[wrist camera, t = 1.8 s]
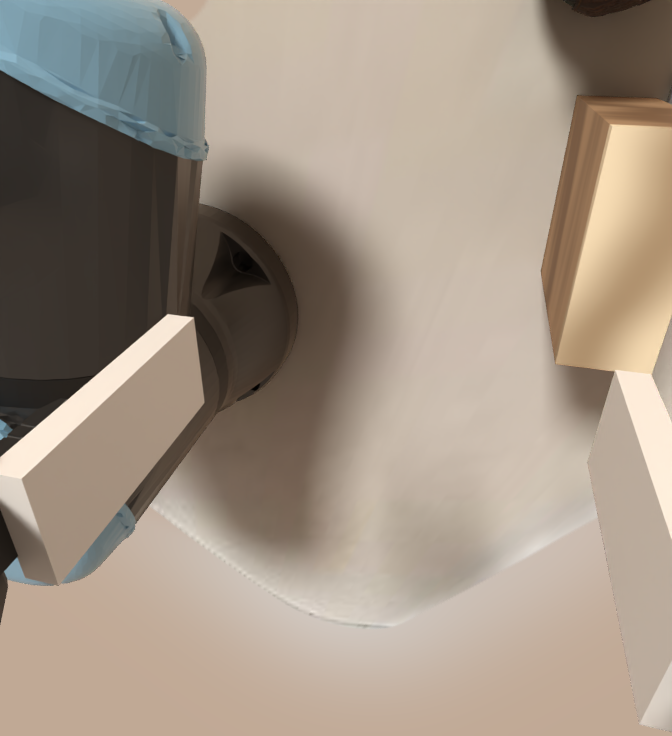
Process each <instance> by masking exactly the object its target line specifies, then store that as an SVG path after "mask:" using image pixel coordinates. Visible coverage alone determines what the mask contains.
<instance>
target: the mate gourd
mask: <svg viewBox="0 0 672 736" xmlns="http://www.w3.org/2000/svg"><path fill="white" fill-rule="evenodd" d="M563 1H565V2H566V3H568V4H569V5H571V6H573V8H572V10H574V11H577V12H580V13H581V14H584V15H586V16H590V17H597V16H603V15H606V14H609V13H614V12H618V11H622V10H626V9H628V8H631V7H633V6H636V5H641V4H643V3H645V2H648V1H650V0H563Z"/></svg>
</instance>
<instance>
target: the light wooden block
mask: <svg viewBox="0 0 672 736" xmlns="http://www.w3.org/2000/svg"><path fill="white" fill-rule="evenodd" d="M541 275H542V282H543V288H544V294H545V301H546V307H547V314H548V320H549V326H550V333H551V339H552V346H553V352H554V358H555V364H559V365H567V366H575V367H583V368H590V369H598V370H606V371H614V372H615V370H621V371H629V372H637V373H645V374H651V375H652V372H653V369H654V366H655V363H656V360H657V357H658V354H659V351H660V348H661V345H662V342H663V340H664V337H665V334H666V331H667V328H668V325H669V322H670V319H671V316H672V104H669V103H667V102H665V101H662V100H660V99H658V98H635V97H608V96H581V95H577V98H576V103H575V108H574V113H573V117H572V122H571V127H570V132H569V137H568V142H567V147H566V151H565V156H564V161H563V166H562V171H561V176H560V181H559V185H558V190H557V195H556V200H555V205H554V210H553V215H552V220H551V224H550V229H549V234H548V239H547V244H546V249H545V254H544V258H543V263H542V268H541Z"/></svg>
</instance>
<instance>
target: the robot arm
mask: <svg viewBox="0 0 672 736" xmlns="http://www.w3.org/2000/svg"><path fill="white" fill-rule="evenodd" d="M205 101H206V57H205V52H204V48H203V45H202V43H201V40H200V38H199V36H198V34H197V32H196V31H195V29H194V28H193V26H192V25H191V24H190V22H189V21H188V20H187V19H186V18H185V17H184V16H183V15H182V14H181V13H180V12H179V11H177V10H176V9H175V8H173V7H172V6H170V5H169V4H167V3H165V2H163V1H161V0H0V623H1V618H2V613H3V608H4V603H5V599H6V593H7V588H8V584H7V579H8V580H11V581H15V582H19V583H24V584H30V585H41V586H48V585H50V586H53V585H57V586H59V585H60V584H61V583H70V582H73V581H77V580H80V579H82V578H84V577H86V576H88V575H89V574H91V573H92V572H94V571H95V570H96V569H97V568H98V567H99V566H100V565H101V564H102V563H103V562H104V561H105V560H106V559H107V557H108V556H109V555H110V554H111V553H112V552H113V550H115V548H116V547H117V546H118V545H119V544H120V543H121V542H122V541H123V540H124V539H126V538H128V537H129V536H130V535H131V534H132V533H133V531H134V530H135V524H136V523H137V521H138V520H139V519H140V517H141V516H142V514H143V513H144V512H145V510H146V509H147V508H148V506H149V505H150V504H151V502H152V501H153V500H154V498H155V497H156V495H157V494H158V493H159V491H160V490H161V489H162V487H163V486H164V484H165V483H166V482H167V480H168V479H169V478H170V476H171V475H172V474H173V472H174V471H175V469H176V468H177V467H178V465H179V464H180V463H181V461H182V460H183V459H184V457H185V456H186V454H187V453H188V452H189V450H190V449H191V448H192V446H193V445H194V444H195V442H196V441H197V439H198V438H199V437H200V435H201V434H202V433H203V431H204V430H205V429H206V427H207V426H208V424H209V423H210V422H211V420H212V419H213V418H214V416H215V415H216V414H217V413H218V412H220V411H222V410H224V409H226V408H227V407H229V406H231V405H233V404H234V403H235V402H236V401H239V400H242V399H244V398H246V397H248V396H250V395H252V394H254V393H256V392H257V391H259V390H260V389H261V388H263V387H264V386H265V385H266V384H267V383H268V382H269V381H270V380H271V379H272V378H273V377H274V376H275V375H276V373H277V372H278V370H279V369H280V367H281V366H282V364H283V363H284V361H285V360H286V358H287V357H288V355H289V353H290V351H291V349H292V346H293V344H294V341H295V337H296V332H297V324H298V311H297V302H296V297H295V293H294V289H293V286H292V283H291V281H290V278H289V276H288V274H287V272H286V270H285V268H284V266H283V264H282V263H281V261H280V259H279V258H278V256H277V255H276V253H275V252H274V251H273V249H272V248H271V247H270V246H269V245H268V243H267V242H266V241H265V240H264V239H263V238H262V237H261V236H260V235H259V234H258V233H257V232H255V231H254V230H253V229H252V228H251V227H249V226H248V225H247V224H245V223H244V222H242V221H241V220H239V219H238V218H236V217H234V216H232V215H230V214H229V213H226V212H224V211H222V210H219V209H217V208H214V207H211V206H207V205H203V204H199V198H200V185H201V173H202V164H203V161H204V160H207V159H206V158H207V154H208V150H209V145H208V143H207V141H206V139H205V138H204V133H205ZM587 463H588V468H589V473H590V479H591V484H592V489H593V494H594V499H595V504H596V509H597V514H598V519H599V524H600V529H601V534H602V539H603V544H604V549H605V554H606V560H607V564H608V569H609V574H610V580H611V584H612V590H613V595H614V600H615V605H616V610H617V615H618V620H619V625H620V630H621V635H622V640H623V645H624V650H625V656H626V660H627V666H628V671H629V676H630V681H631V686H632V691H633V696H634V701H635V706H636V711H637V716H638V721H639V724H640V725H644V726H648V727H652V728H656V729H661V730H665V731H669V732H672V422H671V420H670V417H669V415H668V413H667V410H666V408H665V406H664V403H663V401H662V399H661V396H660V394H659V392H658V389H657V387H656V385H655V382H654V380H653V378H652V376H651V374H645V373H637V372H629V371H621V370H615V372H614V375H613V379H612V382H611V385H610V389H609V392H608V395H607V399H606V402H605V405H604V409H603V412H602V415H601V419H600V422H599V425H598V428H597V432H596V435H595V438H594V442H593V445H592V448H591V452H590V455H589V458H588V462H587Z"/></svg>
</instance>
